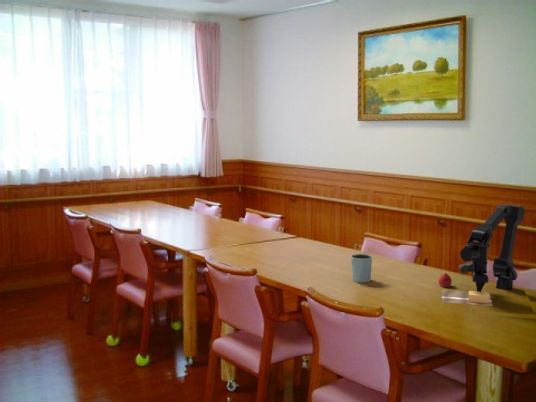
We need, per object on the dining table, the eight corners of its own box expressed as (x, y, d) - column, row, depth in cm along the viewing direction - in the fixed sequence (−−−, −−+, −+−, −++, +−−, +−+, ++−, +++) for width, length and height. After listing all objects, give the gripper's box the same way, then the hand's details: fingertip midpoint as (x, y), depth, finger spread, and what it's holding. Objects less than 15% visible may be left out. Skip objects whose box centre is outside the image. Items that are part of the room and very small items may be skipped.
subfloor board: (489, 296, 258) (489, 293, 258) (492, 309, 241) (492, 306, 241) (442, 293, 264) (442, 289, 264) (441, 305, 247) (441, 301, 247)
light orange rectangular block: (488, 299, 250) (488, 292, 250) (488, 303, 245) (489, 296, 244) (468, 297, 253) (469, 290, 252) (468, 301, 247) (468, 294, 247)
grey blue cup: (371, 283, 280) (371, 259, 278) (349, 282, 282) (350, 258, 280) (371, 278, 289) (372, 254, 288) (351, 276, 291) (351, 253, 290)
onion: (448, 287, 273) (449, 270, 272) (453, 290, 268) (453, 273, 267) (436, 287, 273) (437, 270, 272) (440, 290, 268) (441, 273, 266)
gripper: (460, 251, 264) (458, 285, 266) (461, 261, 246) (459, 297, 249) (486, 253, 261) (484, 287, 263) (489, 263, 243) (487, 300, 246)
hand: (478, 292), depth 255 cm, fingers closed
